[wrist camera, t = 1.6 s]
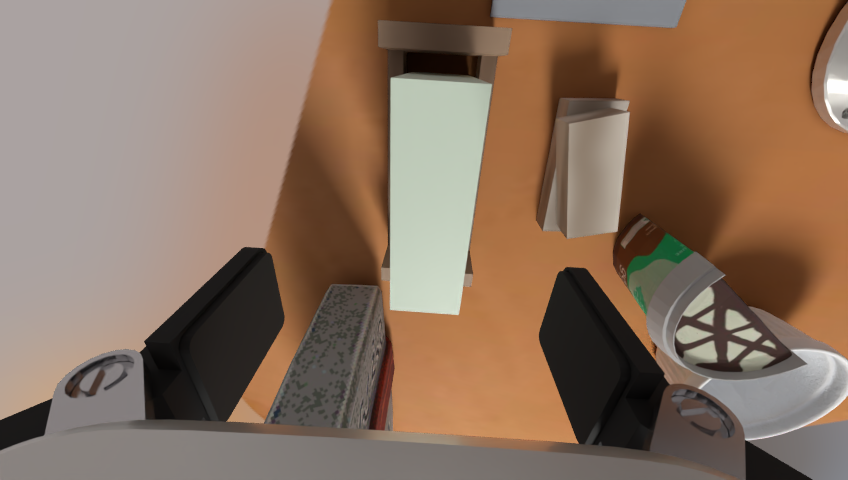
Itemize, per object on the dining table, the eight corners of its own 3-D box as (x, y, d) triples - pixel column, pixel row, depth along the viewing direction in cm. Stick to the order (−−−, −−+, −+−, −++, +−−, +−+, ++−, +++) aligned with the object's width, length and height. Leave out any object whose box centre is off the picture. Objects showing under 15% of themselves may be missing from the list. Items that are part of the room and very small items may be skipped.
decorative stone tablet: (192, 531, 15) (314, 622, 32) (330, 541, 14) (378, 628, 31) (323, 267, 31) (357, 422, 48) (390, 270, 30) (400, 424, 47)
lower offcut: (612, 97, 24) (629, 101, 21) (579, 219, 28) (591, 231, 26) (557, 97, 24) (569, 100, 22) (534, 218, 29) (542, 231, 26)
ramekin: (812, 318, 32) (898, 378, 26) (709, 393, 38) (759, 455, 32) (708, 275, 30) (775, 328, 24) (617, 361, 36) (652, 420, 30)
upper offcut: (610, 107, 22) (629, 112, 19) (602, 217, 26) (617, 231, 23) (556, 117, 22) (568, 123, 20) (556, 224, 26) (566, 238, 24)
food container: (570, 249, 29) (625, 327, 21) (630, 202, 27) (720, 269, 18) (646, 316, 33) (720, 408, 24) (705, 280, 30) (811, 368, 22)
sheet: (468, 75, 23) (492, 84, 12) (452, 223, 29) (458, 314, 18) (413, 71, 23) (390, 77, 12) (408, 220, 29) (390, 309, 18)
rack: (494, 37, 22) (512, 28, 16) (465, 247, 30) (470, 286, 25) (393, 30, 22) (378, 20, 16) (391, 242, 30) (381, 280, 25)
